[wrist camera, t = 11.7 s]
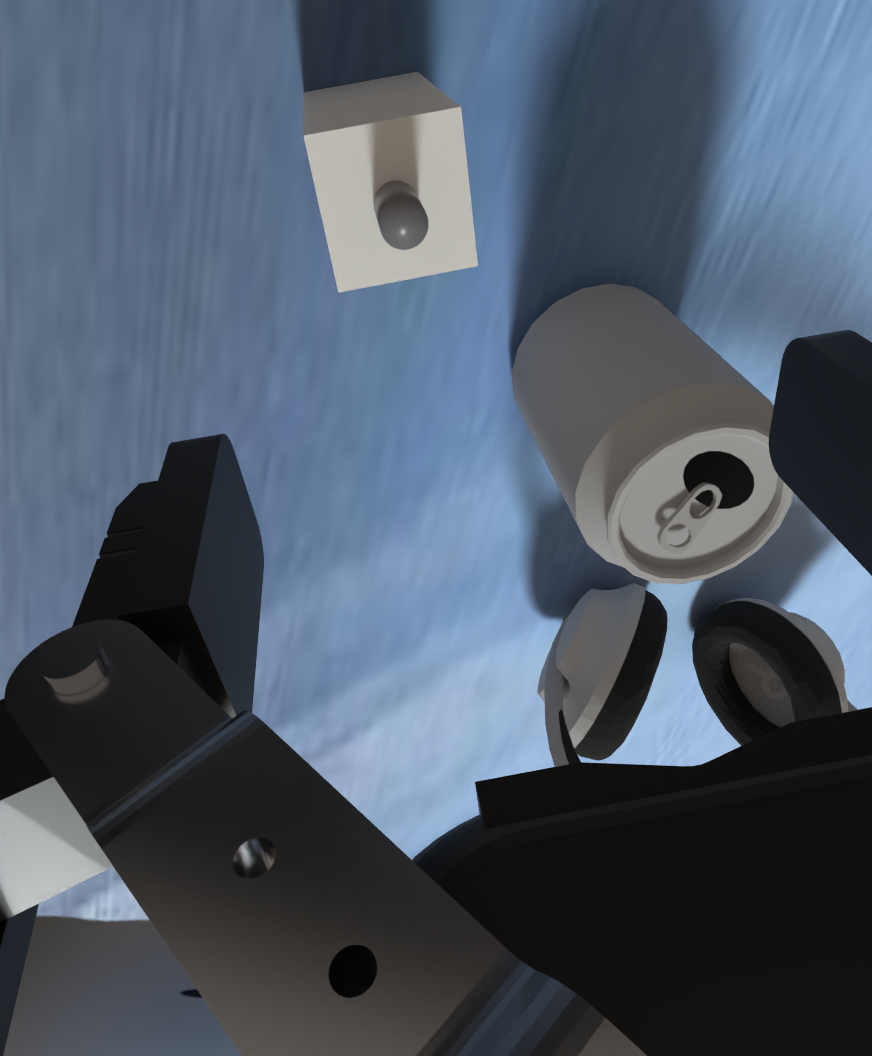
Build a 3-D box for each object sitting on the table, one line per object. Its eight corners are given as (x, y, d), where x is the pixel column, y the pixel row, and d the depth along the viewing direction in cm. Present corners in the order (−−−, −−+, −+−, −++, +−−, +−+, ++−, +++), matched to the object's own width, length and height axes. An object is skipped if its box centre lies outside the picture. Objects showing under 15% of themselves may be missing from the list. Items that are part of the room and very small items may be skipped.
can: (704, 338, 34) (865, 481, 24) (591, 461, 37) (693, 632, 27) (587, 239, 30) (719, 360, 21) (473, 384, 33) (542, 547, 24)
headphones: (830, 578, 44) (1132, 921, 28) (762, 678, 48) (988, 1021, 32) (525, 543, 39) (679, 934, 23) (481, 657, 44) (584, 1049, 28)
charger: (417, 71, 26) (475, 118, 17) (433, 193, 28) (491, 289, 20) (304, 92, 26) (303, 150, 17) (329, 212, 28) (341, 318, 19)
